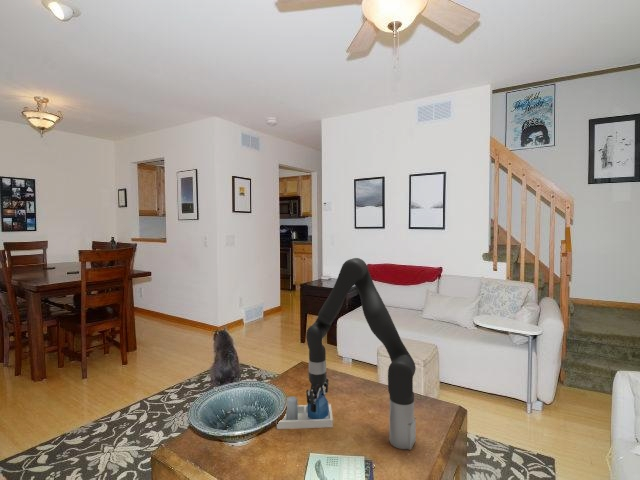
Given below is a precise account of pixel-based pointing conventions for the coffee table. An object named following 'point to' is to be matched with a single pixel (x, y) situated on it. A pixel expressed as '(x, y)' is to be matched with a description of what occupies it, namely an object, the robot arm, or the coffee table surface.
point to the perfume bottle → (319, 408)
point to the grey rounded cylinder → (292, 408)
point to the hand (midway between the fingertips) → (318, 407)
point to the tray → (306, 420)
